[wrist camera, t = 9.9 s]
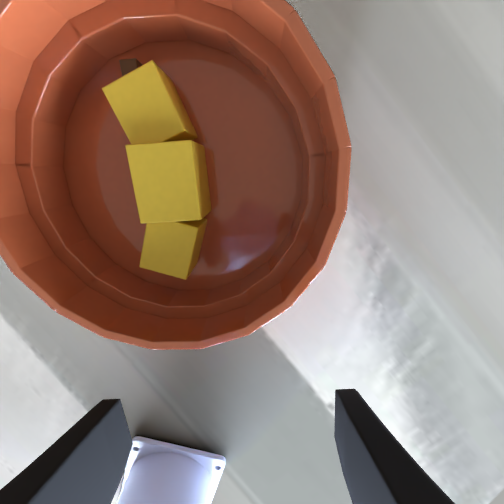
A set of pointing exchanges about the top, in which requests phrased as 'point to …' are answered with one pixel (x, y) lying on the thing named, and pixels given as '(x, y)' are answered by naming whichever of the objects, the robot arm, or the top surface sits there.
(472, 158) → the top surface
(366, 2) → the top surface
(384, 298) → the top surface
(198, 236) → the yellow banana
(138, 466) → the robot arm
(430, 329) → the top surface
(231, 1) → the bowl
